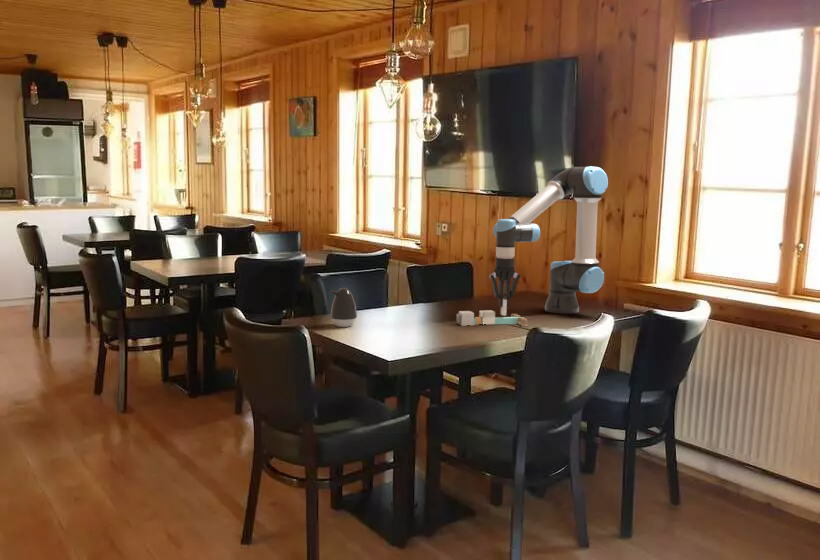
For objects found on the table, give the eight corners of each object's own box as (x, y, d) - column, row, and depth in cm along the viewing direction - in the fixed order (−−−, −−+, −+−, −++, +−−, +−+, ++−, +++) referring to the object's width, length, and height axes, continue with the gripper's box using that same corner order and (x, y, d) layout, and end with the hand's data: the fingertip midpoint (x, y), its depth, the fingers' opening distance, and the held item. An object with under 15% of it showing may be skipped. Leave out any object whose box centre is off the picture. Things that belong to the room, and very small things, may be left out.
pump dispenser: (326, 324, 283) (327, 286, 281) (351, 323, 287) (352, 285, 285) (334, 329, 273) (334, 290, 271) (360, 327, 277) (360, 289, 275)
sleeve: (490, 321, 292) (491, 310, 292) (494, 324, 287) (495, 312, 287) (479, 322, 291) (479, 310, 291) (482, 324, 286) (483, 312, 286)
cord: (519, 322, 295) (519, 310, 294) (523, 324, 290) (523, 312, 289) (455, 323, 289) (456, 311, 289) (459, 325, 285) (459, 313, 284)
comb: (515, 320, 299) (516, 313, 299) (527, 326, 286) (527, 319, 285) (510, 320, 299) (510, 313, 298) (521, 326, 285) (522, 319, 285)
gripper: (517, 256, 292) (515, 312, 295) (486, 256, 290) (485, 313, 293) (523, 258, 285) (521, 316, 288) (492, 258, 283) (491, 316, 286)
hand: (503, 314), depth 291 cm, fingers closed
